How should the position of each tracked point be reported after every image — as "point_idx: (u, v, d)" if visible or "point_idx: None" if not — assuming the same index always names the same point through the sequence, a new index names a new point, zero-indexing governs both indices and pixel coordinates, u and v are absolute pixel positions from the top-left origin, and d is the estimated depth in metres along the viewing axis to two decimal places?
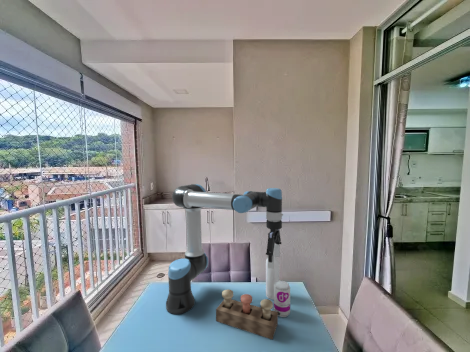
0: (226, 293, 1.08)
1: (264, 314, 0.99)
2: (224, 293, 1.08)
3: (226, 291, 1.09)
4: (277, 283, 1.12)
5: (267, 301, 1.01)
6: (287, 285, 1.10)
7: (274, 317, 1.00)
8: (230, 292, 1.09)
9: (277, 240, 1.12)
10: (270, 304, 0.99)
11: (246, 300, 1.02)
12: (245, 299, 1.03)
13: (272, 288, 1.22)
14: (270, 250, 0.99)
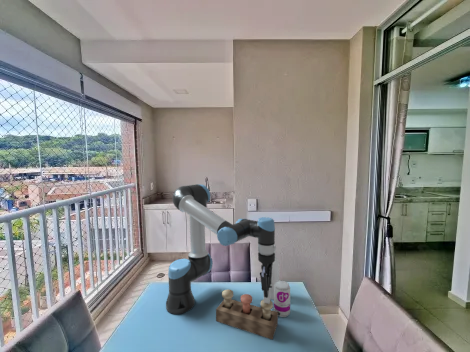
0: (226, 293, 1.08)
1: (264, 314, 0.99)
2: (224, 293, 1.08)
3: (226, 291, 1.09)
4: (277, 283, 1.12)
5: None
6: (287, 285, 1.10)
7: (274, 317, 1.00)
8: (230, 292, 1.09)
9: None
10: (270, 304, 0.99)
11: (246, 300, 1.02)
12: (245, 299, 1.03)
13: (272, 288, 1.22)
14: (265, 287, 0.96)
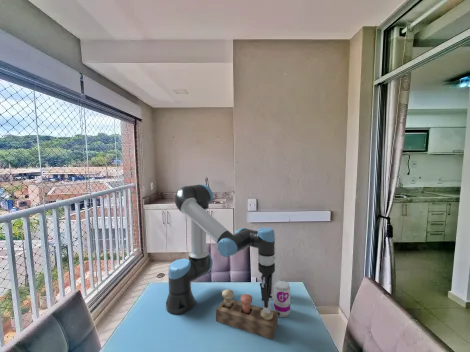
0: (226, 293, 1.08)
1: None
2: (224, 293, 1.08)
3: (226, 291, 1.09)
4: (277, 283, 1.12)
5: None
6: (287, 285, 1.10)
7: (274, 317, 1.00)
8: (230, 292, 1.09)
9: None
10: (270, 314, 0.99)
11: (246, 300, 1.02)
12: (245, 299, 1.03)
13: (272, 288, 1.22)
14: (265, 298, 0.96)
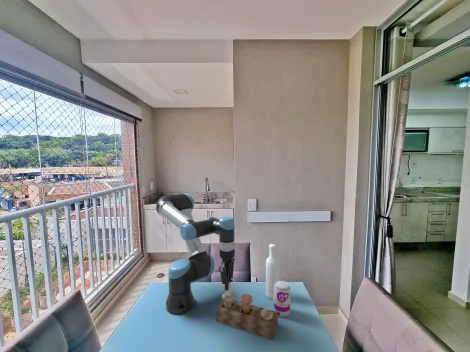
0: (226, 296, 1.08)
1: None
2: (225, 296, 1.08)
3: None
4: (277, 283, 1.12)
5: (267, 311, 1.01)
6: (287, 285, 1.10)
7: (274, 317, 1.00)
8: None
9: (229, 274, 1.08)
10: (270, 314, 0.99)
11: (246, 300, 1.02)
12: (245, 299, 1.03)
13: (272, 288, 1.22)
14: (224, 281, 1.04)
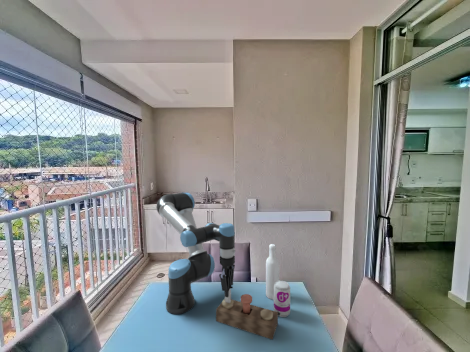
0: (226, 302, 1.08)
1: None
2: (225, 302, 1.08)
3: None
4: (277, 283, 1.12)
5: (267, 311, 1.01)
6: (287, 285, 1.10)
7: (274, 317, 1.00)
8: None
9: (229, 281, 1.09)
10: (270, 314, 0.99)
11: (246, 300, 1.02)
12: (245, 299, 1.03)
13: (272, 288, 1.22)
14: (224, 288, 1.04)
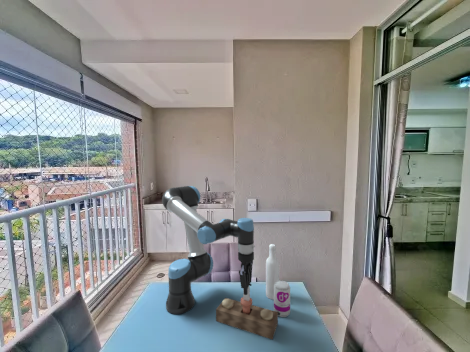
0: (226, 303, 1.08)
1: None
2: (225, 302, 1.08)
3: (227, 301, 1.09)
4: (277, 283, 1.12)
5: (267, 311, 1.01)
6: (287, 285, 1.10)
7: (274, 317, 1.00)
8: (230, 301, 1.09)
9: None
10: (270, 314, 0.99)
11: (246, 303, 1.02)
12: (245, 302, 1.03)
13: (272, 288, 1.22)
14: (244, 285, 1.00)
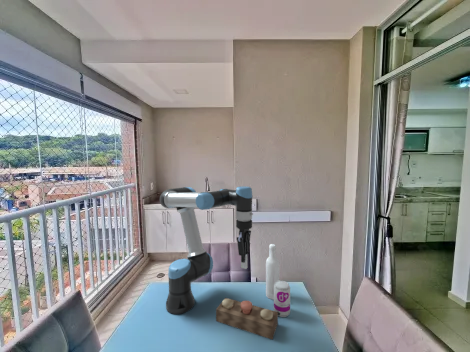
0: (226, 303, 1.08)
1: None
2: (225, 302, 1.08)
3: (227, 301, 1.09)
4: (277, 283, 1.12)
5: (267, 311, 1.01)
6: (287, 285, 1.10)
7: (274, 317, 1.00)
8: (230, 301, 1.09)
9: None
10: (270, 314, 0.99)
11: (246, 307, 1.02)
12: (245, 306, 1.03)
13: (272, 288, 1.22)
14: (241, 252, 1.00)
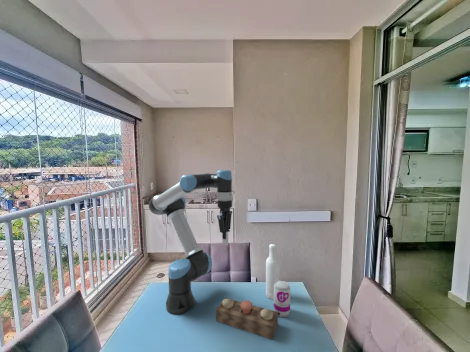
0: (226, 303, 1.08)
1: None
2: (225, 302, 1.08)
3: (227, 301, 1.09)
4: (277, 283, 1.12)
5: (267, 311, 1.01)
6: (287, 285, 1.10)
7: (274, 317, 1.00)
8: (230, 301, 1.09)
9: None
10: (270, 314, 0.99)
11: (246, 307, 1.02)
12: (245, 306, 1.03)
13: (272, 288, 1.22)
14: (222, 229, 1.10)
